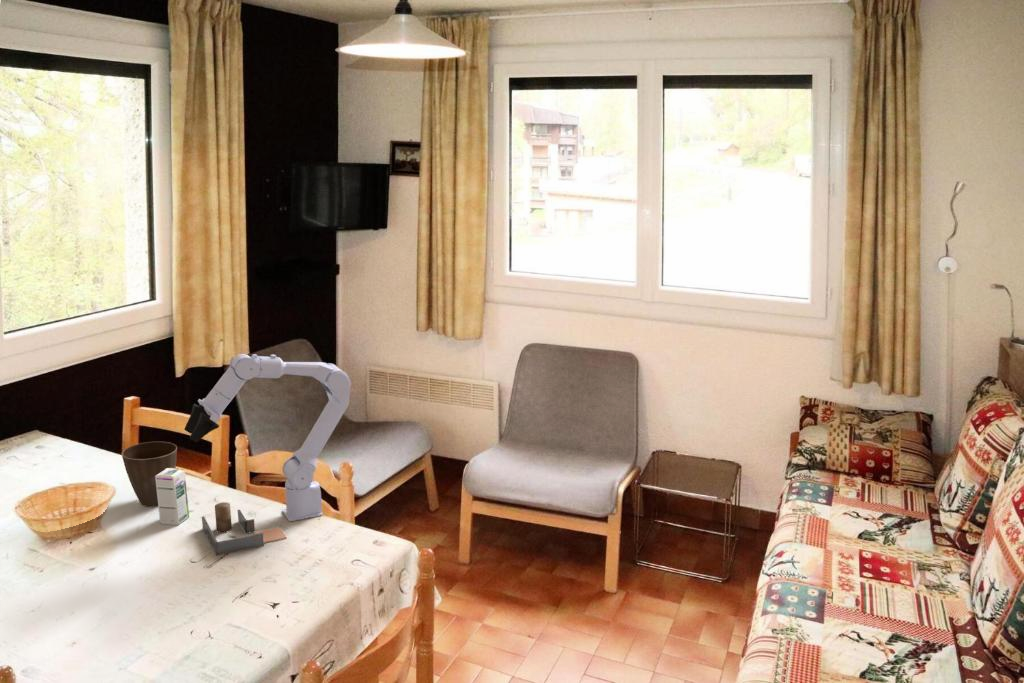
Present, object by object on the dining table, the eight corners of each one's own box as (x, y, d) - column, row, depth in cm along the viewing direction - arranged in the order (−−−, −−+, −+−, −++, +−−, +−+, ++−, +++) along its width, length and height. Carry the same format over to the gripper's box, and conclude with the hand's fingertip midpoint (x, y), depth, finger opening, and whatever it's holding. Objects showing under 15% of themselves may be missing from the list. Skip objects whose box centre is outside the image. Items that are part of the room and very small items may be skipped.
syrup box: (178, 525, 258) (174, 476, 255) (159, 523, 259) (154, 474, 256) (189, 517, 264) (185, 468, 260) (170, 515, 265) (166, 467, 261)
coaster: (279, 528, 257) (279, 527, 257) (286, 538, 251) (286, 537, 251) (253, 533, 254) (253, 532, 254) (260, 544, 248) (260, 542, 248)
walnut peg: (230, 524, 259) (228, 501, 257) (233, 530, 256) (231, 506, 254) (215, 527, 257) (213, 504, 255) (218, 533, 254) (216, 509, 252)
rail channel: (247, 519, 262) (246, 508, 261) (263, 546, 247) (263, 533, 246) (202, 528, 257) (201, 516, 256) (216, 555, 241) (215, 543, 240)
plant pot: (118, 500, 274) (113, 449, 270) (168, 487, 284) (164, 437, 280) (138, 517, 264) (133, 463, 260) (190, 502, 273) (185, 450, 269)
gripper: (204, 378, 252) (172, 420, 251) (215, 393, 240) (182, 436, 238) (225, 392, 256) (194, 433, 254) (238, 407, 243) (205, 450, 242)
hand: (190, 435), depth 246 cm, fingers open, 7 cm apart
